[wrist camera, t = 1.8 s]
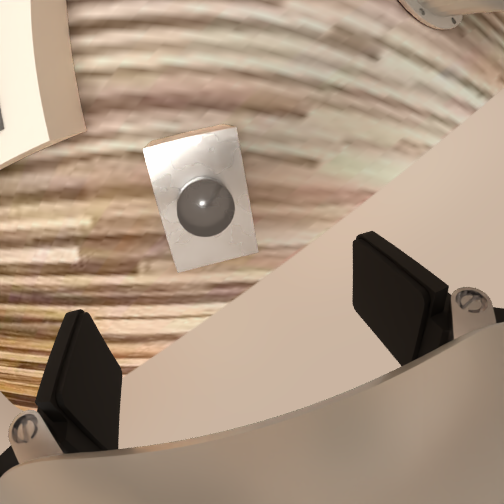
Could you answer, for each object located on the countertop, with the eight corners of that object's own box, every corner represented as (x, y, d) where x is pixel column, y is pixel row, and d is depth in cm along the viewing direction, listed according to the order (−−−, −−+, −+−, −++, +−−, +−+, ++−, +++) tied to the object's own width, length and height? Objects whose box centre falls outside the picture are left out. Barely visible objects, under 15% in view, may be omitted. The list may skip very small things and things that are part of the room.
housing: (223, 123, 24) (240, 128, 17) (242, 223, 28) (263, 260, 21) (151, 140, 23) (140, 151, 16) (176, 239, 27) (178, 282, 20)
